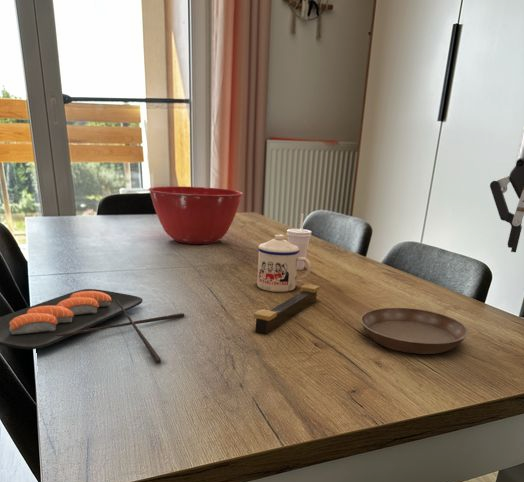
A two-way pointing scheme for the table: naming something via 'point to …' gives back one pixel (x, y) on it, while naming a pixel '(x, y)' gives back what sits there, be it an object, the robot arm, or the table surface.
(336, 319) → the table surface
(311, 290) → the rail
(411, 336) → the plant saucer
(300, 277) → the teacup with lid
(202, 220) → the mixing bowl
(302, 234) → the smoothie
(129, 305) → the sushi plate
